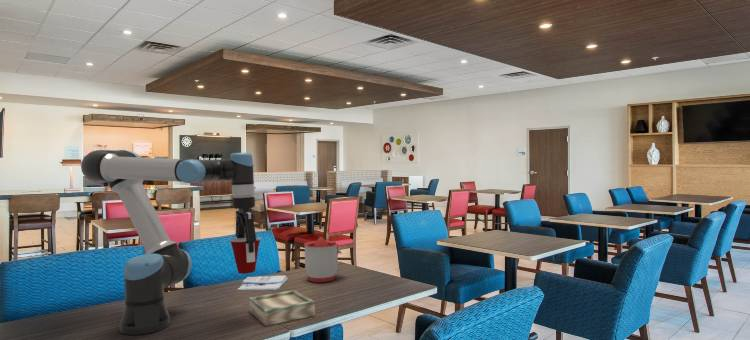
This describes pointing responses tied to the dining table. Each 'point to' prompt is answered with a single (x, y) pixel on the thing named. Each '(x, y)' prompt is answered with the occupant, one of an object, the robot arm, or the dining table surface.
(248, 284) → the white flat piece
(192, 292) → the dining table surface
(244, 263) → the plastic cup
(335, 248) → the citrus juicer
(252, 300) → the stand
